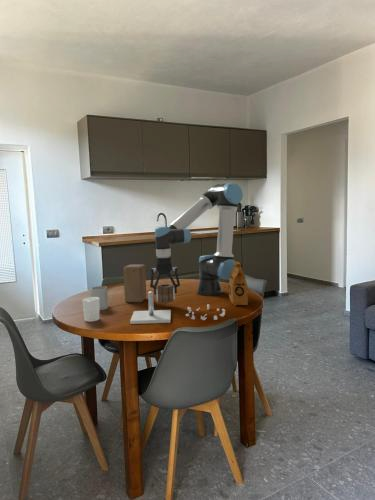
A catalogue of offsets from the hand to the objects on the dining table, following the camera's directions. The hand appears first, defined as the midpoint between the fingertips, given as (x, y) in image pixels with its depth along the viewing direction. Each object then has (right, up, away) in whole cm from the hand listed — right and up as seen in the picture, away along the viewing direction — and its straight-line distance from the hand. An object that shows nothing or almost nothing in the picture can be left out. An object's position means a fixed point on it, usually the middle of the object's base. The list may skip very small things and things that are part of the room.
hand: (165, 299), depth 194 cm
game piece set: (+20, -6, -15) cm, 26 cm away
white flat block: (-6, -6, -19) cm, 21 cm away
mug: (-35, -5, +3) cm, 35 cm away
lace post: (-6, -4, -19) cm, 20 cm away
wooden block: (-18, -3, +17) cm, 25 cm away
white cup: (-34, -7, -19) cm, 39 cm away
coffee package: (+38, -3, +4) cm, 39 cm away
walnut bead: (0, 0, 0) cm, 0 cm away
